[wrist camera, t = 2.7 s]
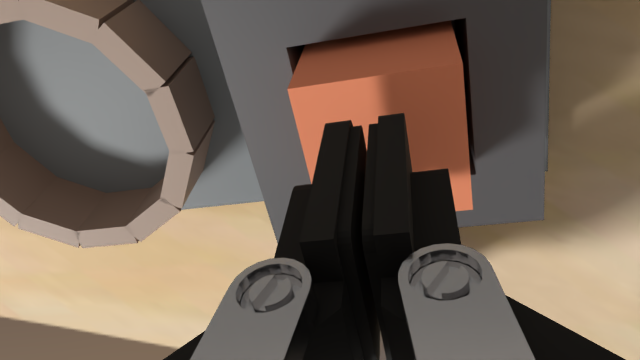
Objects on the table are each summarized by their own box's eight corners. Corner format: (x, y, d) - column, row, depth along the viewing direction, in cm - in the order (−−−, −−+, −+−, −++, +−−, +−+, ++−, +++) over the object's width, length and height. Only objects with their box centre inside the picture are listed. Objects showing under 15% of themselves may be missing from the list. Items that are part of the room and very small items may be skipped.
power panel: (544, -155, 15) (603, -148, 11) (541, 156, 20) (579, 243, 16) (-83, -15, 19) (-216, 29, 15) (48, 211, 24) (-24, 290, 20)
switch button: (447, 8, 15) (462, 63, 11) (457, 131, 16) (473, 209, 13) (310, 32, 15) (287, 89, 12) (335, 147, 17) (321, 223, 14)
